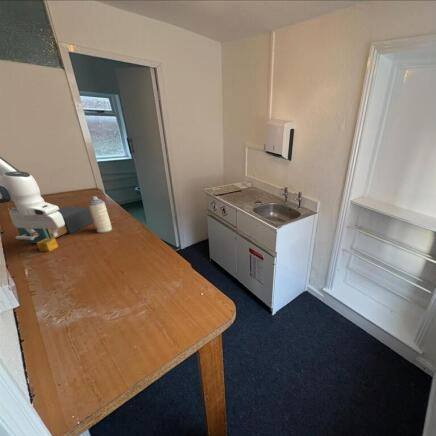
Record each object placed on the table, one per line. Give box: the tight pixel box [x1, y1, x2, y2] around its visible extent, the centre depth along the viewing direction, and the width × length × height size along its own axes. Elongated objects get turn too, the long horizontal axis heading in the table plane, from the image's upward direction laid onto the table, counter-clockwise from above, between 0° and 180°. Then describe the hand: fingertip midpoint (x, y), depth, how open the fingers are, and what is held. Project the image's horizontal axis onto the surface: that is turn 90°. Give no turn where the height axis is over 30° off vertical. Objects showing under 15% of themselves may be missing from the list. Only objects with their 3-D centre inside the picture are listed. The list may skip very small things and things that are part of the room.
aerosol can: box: [88, 195, 113, 234], centre depth 127 cm, size 7×7×20 cm
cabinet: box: [58, 206, 94, 235], centre depth 130 cm, size 16×14×10 cm
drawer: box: [15, 224, 68, 243], centre depth 118 cm, size 19×12×8 cm, turn 0°
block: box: [36, 238, 59, 252], centre depth 110 cm, size 4×4×4 cm
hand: (44, 235), depth 109 cm, fingers open, 8 cm apart
